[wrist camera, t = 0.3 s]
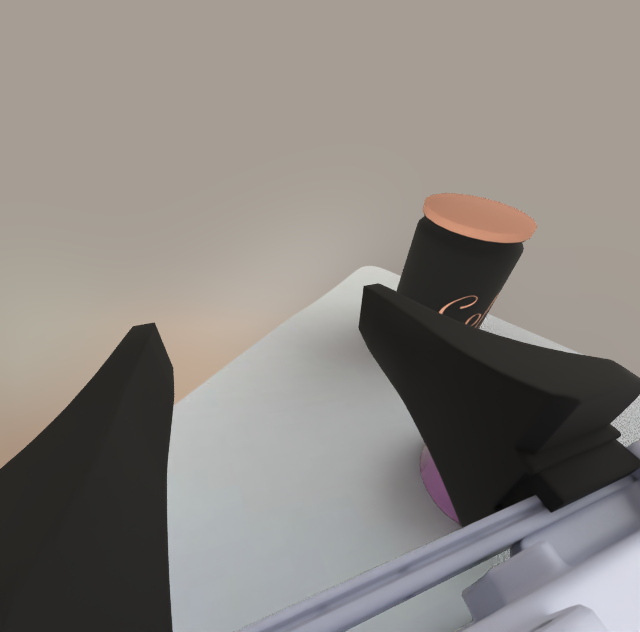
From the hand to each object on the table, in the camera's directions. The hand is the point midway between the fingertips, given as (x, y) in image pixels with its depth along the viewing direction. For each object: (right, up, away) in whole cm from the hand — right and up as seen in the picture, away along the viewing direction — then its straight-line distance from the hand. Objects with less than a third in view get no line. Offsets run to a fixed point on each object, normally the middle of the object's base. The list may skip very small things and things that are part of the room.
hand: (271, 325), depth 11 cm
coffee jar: (+16, -3, +31) cm, 35 cm away
